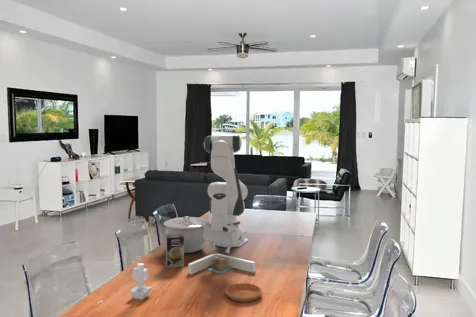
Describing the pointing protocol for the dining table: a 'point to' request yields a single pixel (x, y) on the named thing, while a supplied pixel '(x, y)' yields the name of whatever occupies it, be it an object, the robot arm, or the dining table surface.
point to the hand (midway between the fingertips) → (220, 251)
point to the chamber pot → (188, 231)
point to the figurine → (140, 282)
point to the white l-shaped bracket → (231, 262)
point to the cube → (219, 263)
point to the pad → (219, 271)
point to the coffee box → (174, 250)
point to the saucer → (243, 292)
